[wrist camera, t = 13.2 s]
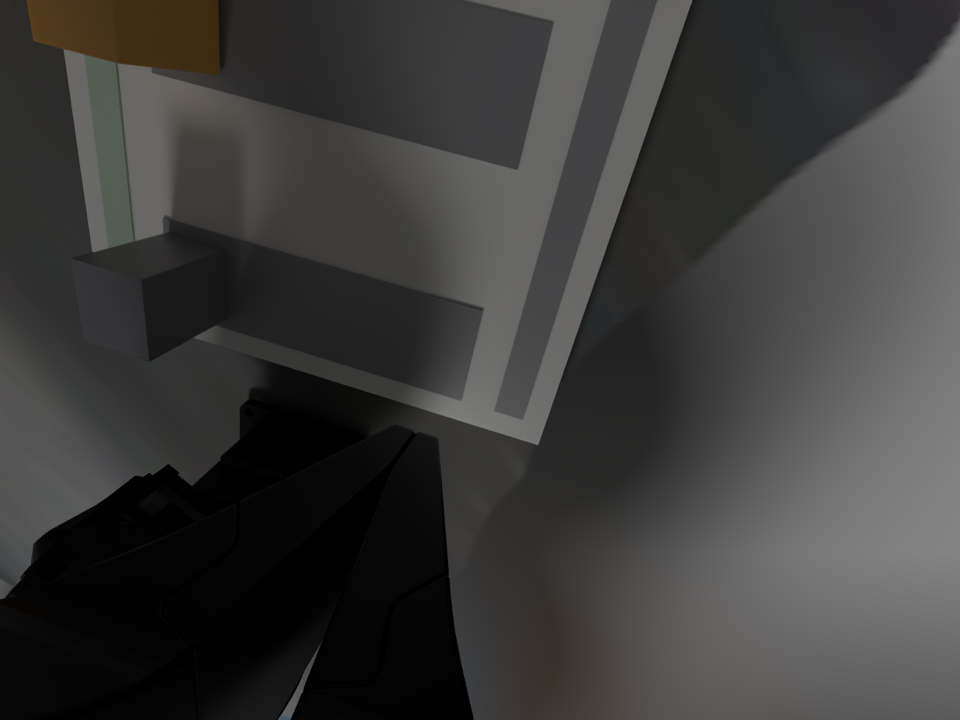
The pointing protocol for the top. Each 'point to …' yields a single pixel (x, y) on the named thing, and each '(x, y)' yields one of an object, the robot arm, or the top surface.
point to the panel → (372, 191)
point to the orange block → (133, 31)
